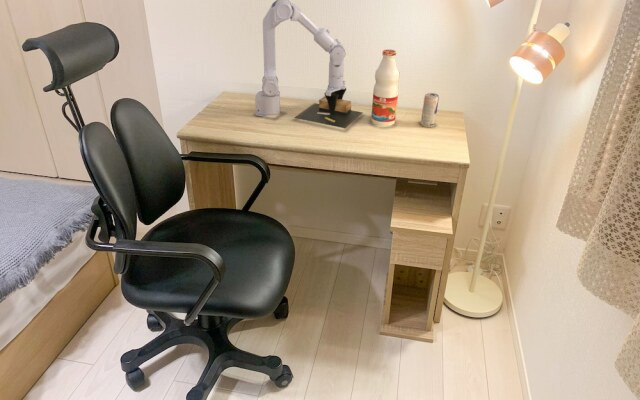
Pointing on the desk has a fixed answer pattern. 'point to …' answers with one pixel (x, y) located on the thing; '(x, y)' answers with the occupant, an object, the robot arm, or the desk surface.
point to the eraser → (340, 108)
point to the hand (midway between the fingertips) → (335, 107)
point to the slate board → (328, 116)
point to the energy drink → (429, 109)
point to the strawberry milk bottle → (385, 90)
